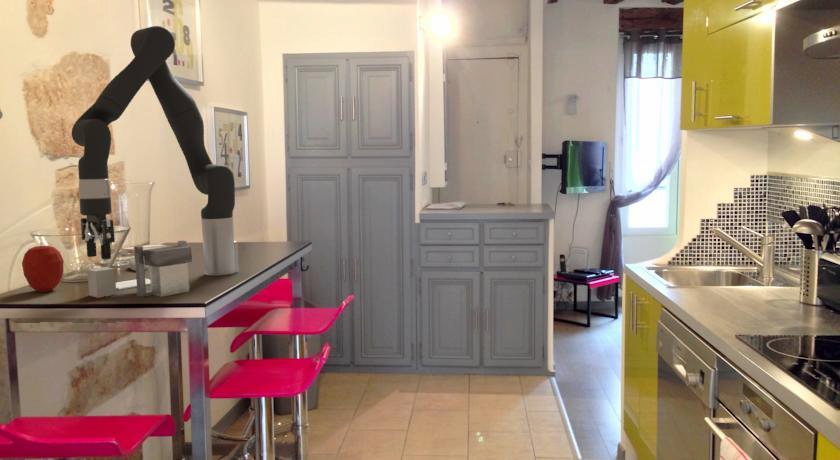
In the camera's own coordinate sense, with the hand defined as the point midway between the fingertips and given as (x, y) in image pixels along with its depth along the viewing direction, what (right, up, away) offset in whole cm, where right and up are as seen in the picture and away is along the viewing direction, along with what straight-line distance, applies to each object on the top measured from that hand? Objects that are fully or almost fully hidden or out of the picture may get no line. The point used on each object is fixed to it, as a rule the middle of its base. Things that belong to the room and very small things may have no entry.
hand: (99, 257), depth 185 cm
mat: (+2, -8, +16) cm, 18 cm away
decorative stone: (-7, -6, +44) cm, 45 cm away
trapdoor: (+14, -1, +4) cm, 14 cm away
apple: (-19, -10, +9) cm, 23 cm away
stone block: (0, -10, +1) cm, 10 cm away
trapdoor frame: (+18, -9, +2) cm, 20 cm away
